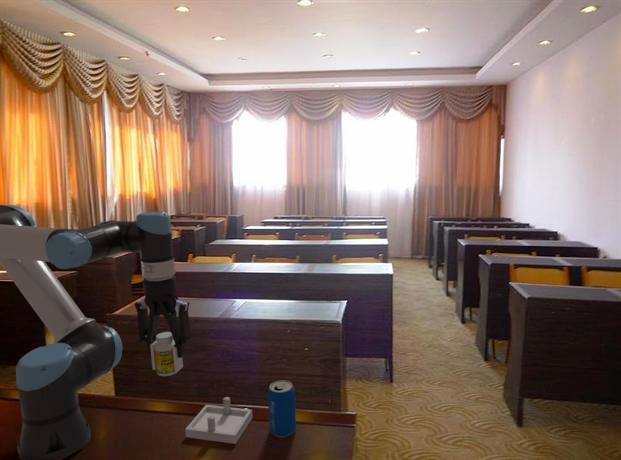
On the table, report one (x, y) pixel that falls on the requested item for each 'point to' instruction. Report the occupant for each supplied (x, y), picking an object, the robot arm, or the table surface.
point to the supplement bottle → (164, 354)
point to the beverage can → (282, 408)
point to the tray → (219, 423)
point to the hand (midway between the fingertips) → (168, 368)
